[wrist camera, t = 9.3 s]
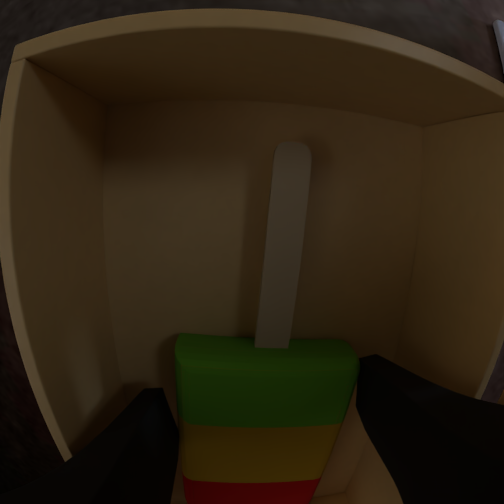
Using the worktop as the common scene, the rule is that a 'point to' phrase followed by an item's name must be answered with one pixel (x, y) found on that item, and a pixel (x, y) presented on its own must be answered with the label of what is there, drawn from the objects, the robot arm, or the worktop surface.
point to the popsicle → (264, 377)
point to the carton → (245, 208)
